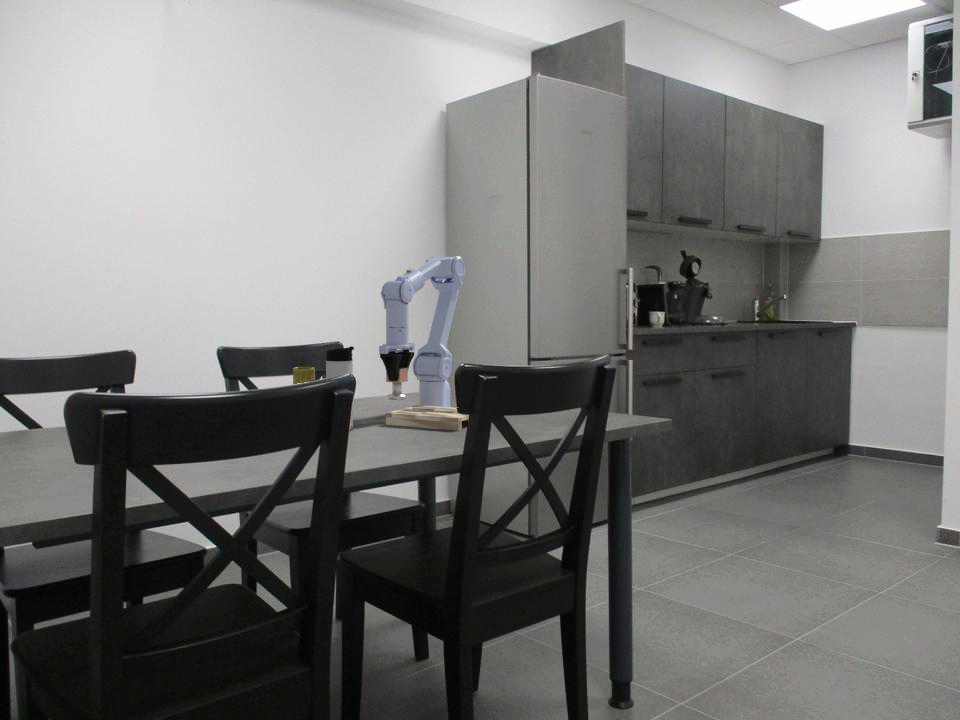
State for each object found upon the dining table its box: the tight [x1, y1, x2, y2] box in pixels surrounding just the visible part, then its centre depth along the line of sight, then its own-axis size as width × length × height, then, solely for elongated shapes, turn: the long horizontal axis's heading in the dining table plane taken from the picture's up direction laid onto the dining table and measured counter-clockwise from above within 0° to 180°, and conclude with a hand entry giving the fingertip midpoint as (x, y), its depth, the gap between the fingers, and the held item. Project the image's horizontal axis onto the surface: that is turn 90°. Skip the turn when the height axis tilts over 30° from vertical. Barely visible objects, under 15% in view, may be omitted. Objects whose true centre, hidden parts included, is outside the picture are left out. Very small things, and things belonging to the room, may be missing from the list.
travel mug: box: [325, 346, 355, 432], centre depth 191 cm, size 6×7×20 cm
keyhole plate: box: [385, 404, 469, 432], centre depth 203 cm, size 16×20×3 cm
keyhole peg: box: [385, 367, 409, 401], centre depth 207 cm, size 5×5×8 cm
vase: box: [292, 366, 316, 385], centre depth 198 cm, size 6×6×14 cm
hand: (397, 380), depth 207 cm, fingers closed on keyhole peg, 4 cm apart
